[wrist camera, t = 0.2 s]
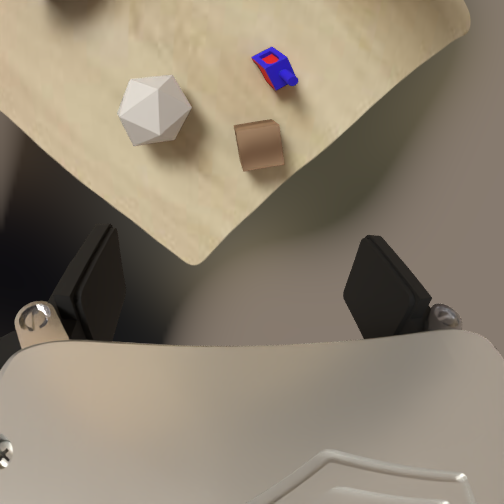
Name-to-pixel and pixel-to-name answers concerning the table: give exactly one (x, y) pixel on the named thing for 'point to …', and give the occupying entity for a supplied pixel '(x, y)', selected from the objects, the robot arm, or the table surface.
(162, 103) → the die
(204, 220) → the table surface
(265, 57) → the toy building block
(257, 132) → the walnut cube
